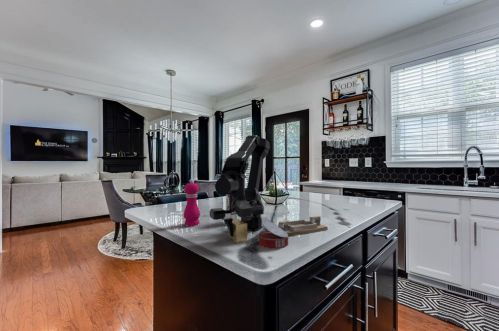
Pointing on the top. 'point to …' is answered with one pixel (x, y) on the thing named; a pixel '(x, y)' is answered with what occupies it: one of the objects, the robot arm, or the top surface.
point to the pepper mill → (191, 204)
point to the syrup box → (228, 209)
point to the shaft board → (302, 226)
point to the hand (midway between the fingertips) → (237, 235)
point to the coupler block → (239, 231)
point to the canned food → (272, 236)
